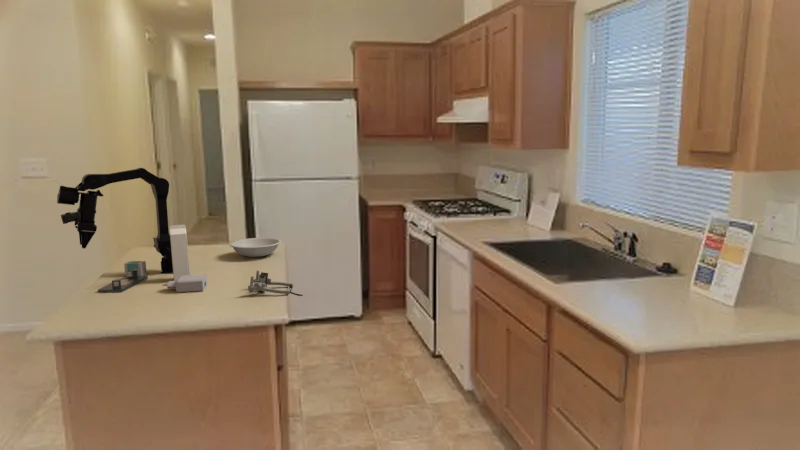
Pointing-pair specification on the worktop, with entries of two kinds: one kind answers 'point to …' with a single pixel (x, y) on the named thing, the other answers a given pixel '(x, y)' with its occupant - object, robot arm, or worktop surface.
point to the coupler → (136, 267)
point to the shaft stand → (123, 282)
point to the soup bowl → (255, 246)
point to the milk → (179, 251)
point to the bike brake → (263, 281)
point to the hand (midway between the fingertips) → (82, 246)
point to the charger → (188, 283)
